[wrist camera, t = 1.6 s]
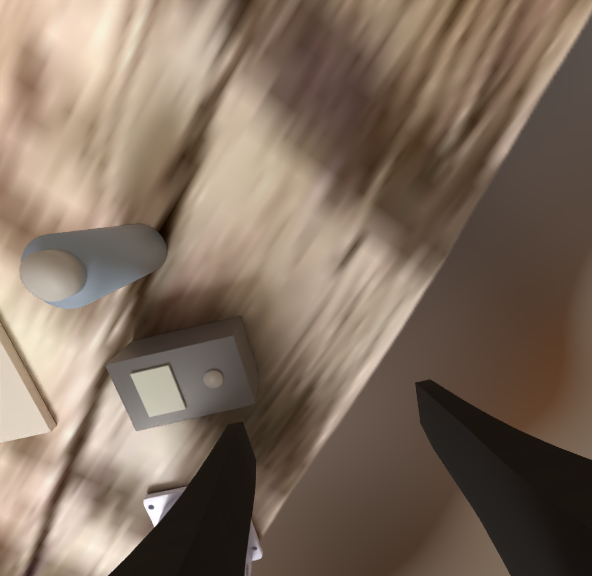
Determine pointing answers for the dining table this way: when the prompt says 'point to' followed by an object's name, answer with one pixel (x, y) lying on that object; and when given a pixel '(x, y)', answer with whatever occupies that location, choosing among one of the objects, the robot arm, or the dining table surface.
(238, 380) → the box
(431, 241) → the dining table surface
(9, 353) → the batten
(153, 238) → the peg
